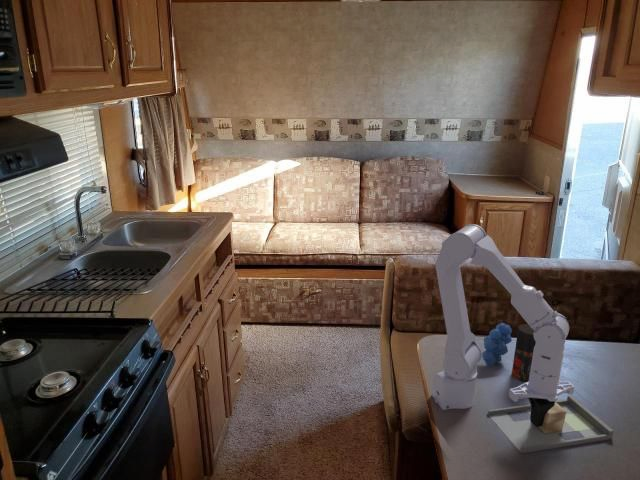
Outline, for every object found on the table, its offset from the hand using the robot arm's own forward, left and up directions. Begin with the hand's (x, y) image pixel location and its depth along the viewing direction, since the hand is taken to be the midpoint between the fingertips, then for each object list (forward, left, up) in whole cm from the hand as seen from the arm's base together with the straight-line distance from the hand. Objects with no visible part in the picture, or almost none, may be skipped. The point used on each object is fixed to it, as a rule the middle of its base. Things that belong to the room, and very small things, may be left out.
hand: (536, 423), depth 107 cm
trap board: (+3, 0, -3) cm, 4 cm away
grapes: (+7, +29, -3) cm, 30 cm away
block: (+3, 0, -1) cm, 3 cm away
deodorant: (+10, +19, -3) cm, 22 cm away
